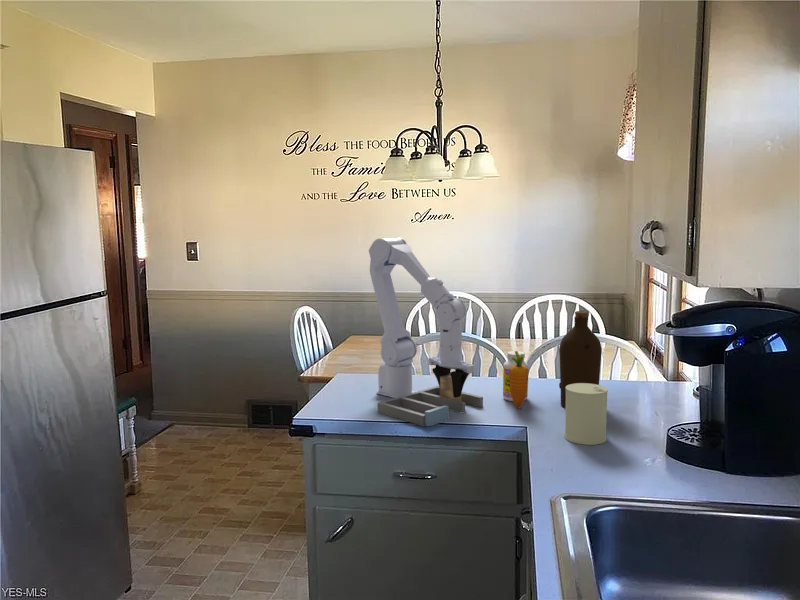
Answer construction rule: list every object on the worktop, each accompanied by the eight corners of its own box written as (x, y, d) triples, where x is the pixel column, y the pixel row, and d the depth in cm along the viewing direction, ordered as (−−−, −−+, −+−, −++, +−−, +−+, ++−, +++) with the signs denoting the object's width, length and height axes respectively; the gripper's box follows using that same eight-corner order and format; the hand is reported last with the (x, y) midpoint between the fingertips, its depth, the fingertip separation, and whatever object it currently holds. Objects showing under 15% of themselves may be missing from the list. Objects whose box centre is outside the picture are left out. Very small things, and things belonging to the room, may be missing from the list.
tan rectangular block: (440, 402, 176) (440, 376, 175) (450, 399, 179) (450, 374, 178) (451, 405, 173) (451, 379, 172) (461, 402, 176) (461, 376, 175)
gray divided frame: (377, 412, 169) (377, 398, 169) (437, 394, 185) (437, 382, 184) (426, 427, 157) (426, 413, 156) (486, 407, 172) (486, 394, 172)
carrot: (527, 411, 168) (528, 354, 166) (508, 410, 169) (508, 353, 167) (528, 406, 173) (529, 350, 171) (508, 405, 174) (509, 349, 172)
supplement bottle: (500, 400, 178) (500, 354, 176) (506, 394, 184) (506, 349, 183) (525, 403, 176) (525, 356, 174) (529, 396, 182) (530, 351, 180)
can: (600, 447, 142) (601, 393, 140) (558, 440, 147) (559, 388, 145) (611, 435, 150) (612, 384, 148) (571, 428, 155) (572, 379, 153)
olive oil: (608, 407, 171) (611, 312, 168) (580, 414, 165) (583, 316, 162) (577, 398, 180) (579, 307, 177) (549, 404, 174) (551, 311, 171)
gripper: (420, 343, 176) (420, 392, 178) (462, 351, 166) (461, 403, 168) (438, 339, 181) (438, 387, 183) (479, 347, 171) (479, 398, 172)
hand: (450, 395), depth 175 cm, fingers closed on tan rectangular block, 4 cm apart
